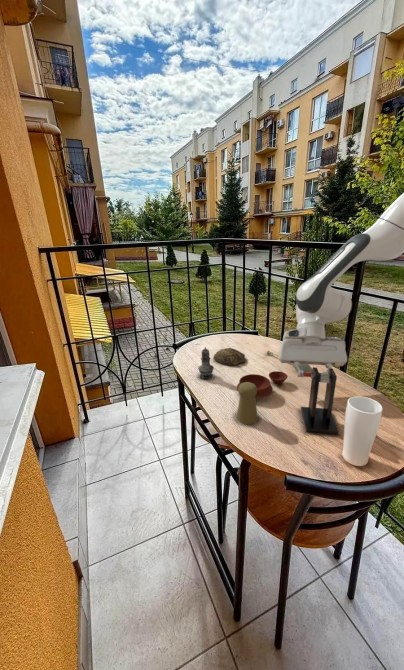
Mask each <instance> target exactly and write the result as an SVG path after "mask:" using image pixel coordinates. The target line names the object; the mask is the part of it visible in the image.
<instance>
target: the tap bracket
mask: <svg viewBox="0 0 404 670" xmlns="http://www.w3.org/2000/svg"><path fill="white" fill-rule="evenodd" d="M319 373H320V372H319V370H318V367H312V375H311V377H310V379H311V381H310V390H309V398H308V399H309V400H308V406H300V412H301V413H300V414H301V417H302V421H303V425H304V430H305V433H311V434H322V435H331V436H332V435H333V436H334V435H335V436H338V435H339V429H338V426H337V424H336V421H335V419H334V416H333V414H332V413H333V407H334V398H335V391H336V384H337V380H338V378H337V375H336V372H335V370H334V368H333V367H331V368H329V370H328V374H330V377H329V383H326V386H325V393H324V401H323V407H317V404H318V403H317V402H318V396H319V386H320V382H319V380H320V374H319Z"/></svg>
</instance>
